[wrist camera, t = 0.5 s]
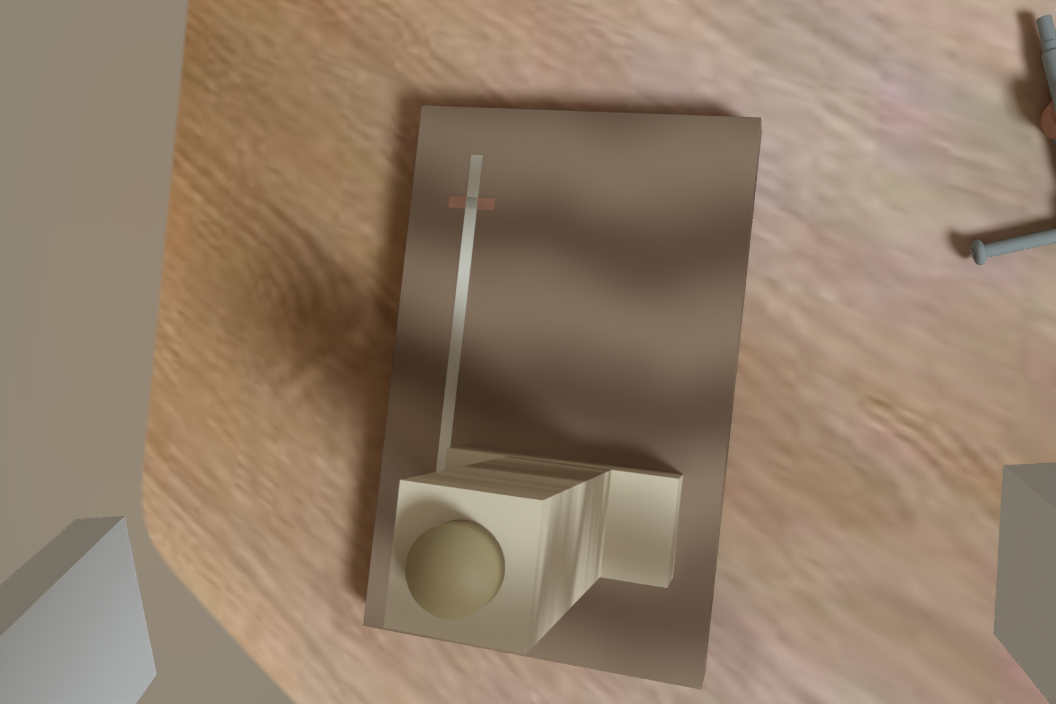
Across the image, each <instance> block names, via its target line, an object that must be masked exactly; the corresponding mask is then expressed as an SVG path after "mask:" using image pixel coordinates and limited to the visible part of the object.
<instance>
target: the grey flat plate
mask: <svg viewBox="0 0 1056 704" xmlns="http://www.w3.org/2000/svg"><path fill="white" fill-rule="evenodd" d="M761 133H762V130H761V118H758V117H731V116H703V115H675V114H647V113H620V112H592V111H564V110H536V109H509V108H481V107H453V106H425V105H422V108H421V116H420V125H419V134H418V143H417V152H416V161H415V170H414V179H413V188H412V197H411V205H410V214H409V223H408V232H407V241H406V250H405V259H404V268H403V277H402V286H401V294H400V303H399V312H398V321H397V330H396V339H395V348H394V357H393V366H392V375H391V383H390V392H389V401H388V410H387V419H386V428H385V437H384V446H383V455H382V464H381V472H380V481H379V490H378V499H377V508H376V517H375V526H374V535H373V544H372V552H371V561H370V570H369V579H368V588H367V597H366V606H365V615H364V624H363V626H368V627H373V628H378V629H384V630H389V631H394V632H399V633H405V634H410V635H415V636H421V637H426V638H431V639H437V640H442V641H447V642H452V643H458V644H463V645H468V646H474V647H479V648H484V649H490V650H495V651H500V652H505V653H511V654H516V655H521V656H527V657H532V658H537V659H543V660H548V661H553V662H558V663H564V664H569V665H574V666H580V667H585V668H590V669H596V670H601V671H606V672H611V673H617V674H622V675H627V676H633V677H638V678H643V679H649V680H654V681H659V682H664V683H670V684H675V685H680V686H686V687H691V688H696V689H701V688H702V684H703V680H704V676H705V668H706V658H707V649H708V639H709V630H710V620H711V611H712V601H713V591H714V582H715V572H716V563H717V553H718V544H719V534H720V525H721V515H722V505H723V496H724V486H725V477H726V467H727V458H728V448H729V439H730V429H731V419H732V410H733V400H734V391H735V381H736V372H737V362H738V353H739V343H740V333H741V324H742V314H743V305H744V295H745V286H746V276H747V267H748V257H749V247H750V238H751V228H752V219H753V209H754V200H755V190H756V181H757V171H758V161H759V152H760V142H761ZM457 446H471V447H478V448H486V449H493V450H501V451H509V452H516V453H524V454H531V455H539V456H547V457H554V458H562V459H569V460H577V461H584V462H592V463H600V464H607V465H615V466H622V467H630V468H638V469H645V470H653V471H660V472H668V473H675V474H683V475H684V476H683V485H682V495H681V504H680V514H679V523H678V533H677V542H676V551H675V561H674V570H673V578H672V580H671V582H670V584H669V586H668V588H664V587H658V586H651V585H645V584H639V583H633V582H627V581H621V580H615V579H608V578H602V577H600V578H599V579H598V580H597V581H596V582H595V583H594V584H593V585H592V586H591V587H590V588H589V589H588V590H587V591H586V592H585V593H584V594H583V595H582V596H581V597H580V598H579V600H578V601H577V602H576V603H575V604H574V605H573V606H572V607H571V608H570V609H569V610H568V611H567V612H566V613H565V614H564V615H563V616H562V617H561V618H560V619H559V620H558V621H557V622H556V624H555V625H554V626H553V627H552V628H551V629H550V630H549V631H548V632H547V633H546V634H545V635H544V636H543V637H542V638H541V639H540V640H539V641H538V642H537V643H536V644H535V645H534V646H533V648H532V649H531V650H530V651H529V652H528V653H527V654H522V653H517V652H511V651H506V650H501V649H495V648H490V647H485V646H479V645H474V644H468V643H463V642H458V641H452V640H447V639H442V638H436V637H431V636H426V635H420V634H415V633H410V632H404V631H399V630H394V629H388V628H383V627H384V618H385V609H386V600H387V591H388V582H389V574H390V565H391V556H392V547H393V538H394V529H395V520H396V511H397V502H398V493H399V484H400V480H402V479H406V478H411V477H416V476H420V475H425V474H429V473H434V472H438V471H443V470H445V463H446V454H447V448H450V447H457Z"/></svg>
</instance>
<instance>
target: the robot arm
mask: <svg viewBox="0 0 1056 704" xmlns="http://www.w3.org/2000/svg"><path fill="white" fill-rule="evenodd" d="M994 634H995V636H996V637H997V638H998V639H999V641H1000V642H1001V643H1002V644H1003V646H1004V647H1005V648H1006V649H1007V651H1008V652H1009V653H1010V654H1011V655H1012V657H1013V658H1014V659H1015V660H1016V662H1017V663H1018V664H1019V665H1020V667H1021V668H1022V669H1023V670H1024V672H1025V673H1026V674H1027V675H1028V677H1029V678H1030V679H1031V680H1032V682H1033V683H1034V684H1035V685H1036V686H1037V688H1038V689H1039V690H1040V691H1041V693H1042V694H1043V695H1044V696H1045V698H1046V699H1047V700H1048V701H1049V703H1050V704H1056V462H1055V463H1037V464H1020V465H1003V478H1002V495H1001V513H1000V531H999V548H998V566H997V584H996V601H995V619H994ZM155 675H156V670H155V665H154V660H153V655H152V650H151V645H150V640H149V635H148V630H147V625H146V620H145V615H144V610H143V605H142V600H141V595H140V591H139V586H138V581H137V576H136V571H135V566H134V561H133V556H132V551H131V546H130V541H129V536H128V531H127V526H126V521H125V517H124V516H121V517H102V518H85V519H75V520H74V521H73V522H72V523H71V524H70V525H69V526H67V527H66V528H65V529H64V530H63V531H61V532H60V533H59V534H58V535H57V536H56V537H55V538H54V539H52V540H51V541H50V542H49V543H48V544H47V545H45V546H44V547H43V548H42V549H41V550H40V551H39V552H37V553H36V554H35V555H34V556H33V557H32V558H31V559H29V560H28V561H27V562H26V563H25V564H24V565H23V566H21V567H20V568H19V569H18V570H17V571H16V572H15V573H14V574H12V575H11V576H10V577H9V578H8V579H7V580H5V581H4V582H3V583H2V584H1V585H0V704H136V703H137V702H138V700H139V699H140V697H141V696H142V694H143V693H144V692H145V690H146V689H147V687H148V686H149V684H150V683H151V681H152V680H153V679H154V677H155Z"/></svg>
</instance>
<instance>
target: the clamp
mask: <svg viewBox="0 0 1056 704" xmlns="http://www.w3.org/2000/svg"><path fill="white" fill-rule="evenodd" d="M1036 23H1037V27H1038V31H1039V34H1040V38H1041V42H1042V45H1041V48H1042V52H1043V54H1042V55H1041V58H1042V62H1043V66H1044V70H1045V74H1046V77H1047V81H1048V85H1049V89H1050V93H1051V97H1052V101H1051V103H1050V104H1049V105H1048V106H1047V107H1046V108H1045V109H1044V111H1043V113H1042V115H1041V119H1040V124H1041V128H1042V131H1043V132H1044V133H1045V135H1046V136H1048V137H1049V138H1050V139H1051V140H1052V142H1053V144H1056V31H1055V27H1054V24H1053V20H1052V16H1051V15H1045V16H1042V17H1040V18H1038V19H1037V20H1036ZM1052 243H1056V228H1055V229H1050V230H1046V231H1041V232H1037V233H1032V234H1028V235H1023V236H1019V237H1014V238H1009V239H1005V240H1000V241H996V242H991V243H987V244H983V243H982V242H981V241H980V240H974V241H973V242H972V244H971V255H972V257H973V259H974V261H975V263H976V264H978V265H983V264H984V263H985V262H986V258H988V257H992V256H997V255H1001V254H1006V253H1011V252H1015V251H1020V250H1024V249H1029V248H1034V247H1038V246H1043V245H1047V244H1052Z"/></svg>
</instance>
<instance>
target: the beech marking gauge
mask: <svg viewBox="0 0 1056 704" xmlns="http://www.w3.org/2000/svg"><path fill="white" fill-rule="evenodd" d="M683 476H684V475H683V474H675V473H668V472H660V471H653V470H645V469H638V468H630V467H622V466H615V465H607V464H600V463H592V462H584V461H577V460H569V459H562V458H554V457H547V456H539V455H531V454H524V453H516V452H509V451H501V450H493V449H486V448H478V447H471V446H457V447H450V448H447V454H446V463H445V470H443V471H438V472H434V473H429V474H425V475H420V476H416V477H411V478H406V479H402V480H400V484H399V493H398V502H397V511H396V520H395V529H394V538H393V547H392V556H391V565H390V574H389V582H388V591H387V600H386V609H385V618H384V627H383V628H388V629H394V630H399V631H404V632H410V633H415V634H420V635H426V636H431V637H436V638H442V639H447V640H452V641H458V642H463V643H468V644H474V645H479V646H485V647H490V648H495V649H501V650H506V651H511V652H517V653H522V654H527V653H528V652H529V651H530V650H531V649H532V648H533V646H534V645H535V644H536V643H537V642H538V641H539V640H540V639H541V638H542V637H543V636H544V635H545V634H546V633H547V632H548V631H549V630H550V629H551V628H552V627H553V626H554V625H555V624H556V622H557V621H558V620H559V619H560V618H561V617H562V616H563V615H564V614H565V613H566V612H567V611H568V610H569V609H570V608H571V607H572V606H573V605H574V604H575V603H576V602H577V601H578V600H579V598H580V597H581V596H582V595H583V594H584V593H585V592H586V591H587V590H588V589H589V588H590V587H591V586H592V585H593V584H594V583H595V582H596V581H597V580H598V579H599V578H600V577H602V578H608V579H615V580H621V581H627V582H633V583H639V584H645V585H651V586H658V587H664V588H668V586H669V584H670V582H671V580H672V578H673V570H674V561H675V551H676V542H677V533H678V523H679V514H680V504H681V495H682V485H683Z"/></svg>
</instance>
